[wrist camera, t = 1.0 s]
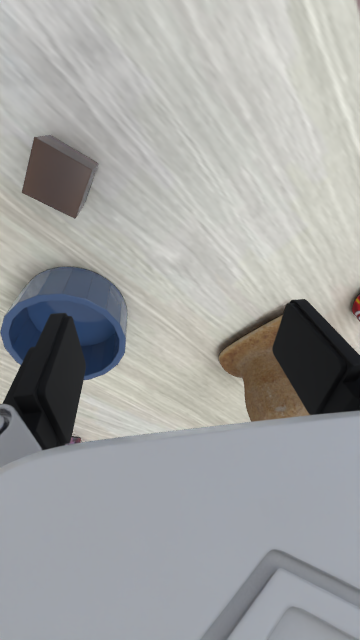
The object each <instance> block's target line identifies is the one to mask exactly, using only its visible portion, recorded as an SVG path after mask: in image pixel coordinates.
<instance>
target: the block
mask: <svg viewBox="0 0 360 640" xmlns="http://www.w3.org/2000/svg"><path fill="white" fill-rule="evenodd" d="M97 167H98V163H97V162H95V161H93V160H92V159H90V158H88V157H87V156H85V155H83V154H82V153H80V152H78V151H77V150H75V149H73V148H72V147H70V146H68V145H66V144H65V143H63V142H61V141H60V140H58V139H56V138H55V137H53V136H51V135H45V136H38V137H34V141H33V145H32V150H31V154H30V158H29V163H28V167H27V172H26V176H25V181H24V185H23V189H22V193H24V194H26V195H28V196H30V197H32V198H34V199H36V200H38V201H40V202H42V203H44V204H46V205H48V206H50V207H52V208H54V209H56V210H58V211H61V212H63V213H65V214H67V215H69V216H71V217H73V218H76V217H77V216H78V214H79V212H80V211H81V209H82V208H83V206H84V203H85V200H86V198H87V195H88V192H89V189H90V186H91V183H92V181H93V178H94V175H95V172H96V169H97Z"/></svg>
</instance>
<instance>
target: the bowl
mask: <svg viewBox="0 0 360 640" xmlns="http://www.w3.org/2000/svg"><path fill="white" fill-rule="evenodd" d="M54 313H66V314H67V315H68V316H72V318H73V321H74V324H75V328H76V331H77V335H78V338H79V341H80V345H81V348H82V352H83V355H84V359H85V363H86V370H85V375H84V380H89V379H92V378H95V377H98V376H101V375H104V374H106V373H107V372H108V371H110V370H111V369H112V368H114V367H115V366H116V365H118V363H119V361H120V360H121V358H122V356H123V355H124V353H125V344H126V328H127V308H126V304H125V301H124V299H123V296H122V295H121V293H120V292H119V290H118V289H117V288H116V287H115V286H114V285H113V284H112V283H111V282H110V281H108V280H107V279H106V278H104V277H103V276H101V275H99V274H97V273H95V272H92V271H89V270H86V269H82V268H77V267H57V268H52V269H49V270H46V271H44V272H41V273H39V274H38V275H36V276H35V277H34V278H33V279H31V280H30V282H29V283H28V284H27V285H26V286H25V287H24V288H23V290H22V291H21V293H20V294H19V296H18V297H17V299H16V300H15V302H14V303H13V304H12V306H11V307H10V309H9V310H8V312H7V313H6V315H5V316H4V319H3V323H2V327H1V331H0V333H1V336H2V340H3V343H4V347H5V349H6V350H7V351H8V352H9V354H10V355H11V356H12V357H13V358H14V360H15V361H16V362H17V363H19V364H20V365H21V364H22V362H23V360H24V358H25V356H26V354H27V352H28V350H29V349H30V348H31V347H35V346H36V344H37V342H38V340H39V337H40V335H41V333H42V331H43V329H44V326H45V324H46V322H47V320H48V318H49V316H50V314H54Z"/></svg>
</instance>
